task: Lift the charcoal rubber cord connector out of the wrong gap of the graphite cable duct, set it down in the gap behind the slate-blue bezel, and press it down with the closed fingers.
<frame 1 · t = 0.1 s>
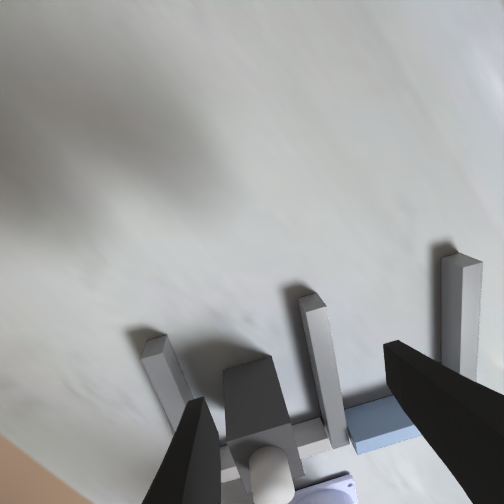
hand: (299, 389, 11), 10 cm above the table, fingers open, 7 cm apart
cord connector: (254, 386, 23), resting in cable duct
cable duct: (320, 367, 24), on the table
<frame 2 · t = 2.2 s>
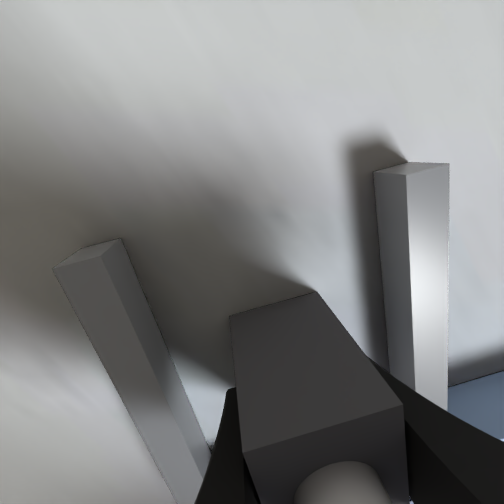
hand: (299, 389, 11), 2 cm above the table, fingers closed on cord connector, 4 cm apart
cord connector: (284, 349, 13), resting in cable duct, touching gripper
cable duct: (400, 316, 13), on the table
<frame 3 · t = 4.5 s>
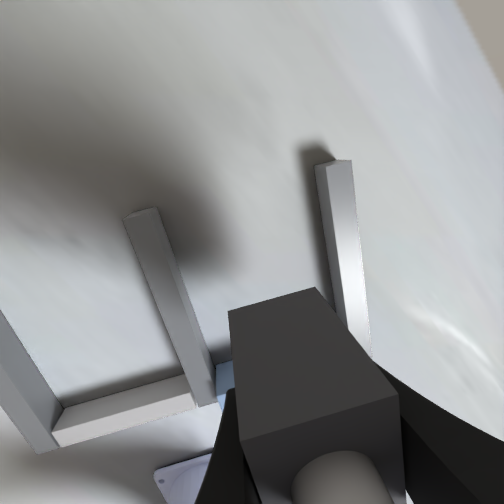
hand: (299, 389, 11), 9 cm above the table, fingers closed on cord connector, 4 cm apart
cord connector: (282, 344, 13), point 7 cm above the table, touching gripper
cable duct: (180, 307, 19), on the table
when the fingers open (3 cm above the table, at t = 6.7 s): cord connector stays where it is, resting in cable duct.
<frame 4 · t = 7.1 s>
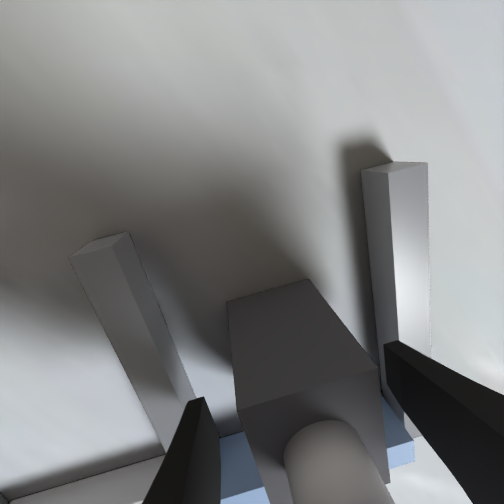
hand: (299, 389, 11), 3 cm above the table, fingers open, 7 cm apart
cord connector: (278, 332, 14), resting in cable duct
cable duct: (167, 368, 14), on the table
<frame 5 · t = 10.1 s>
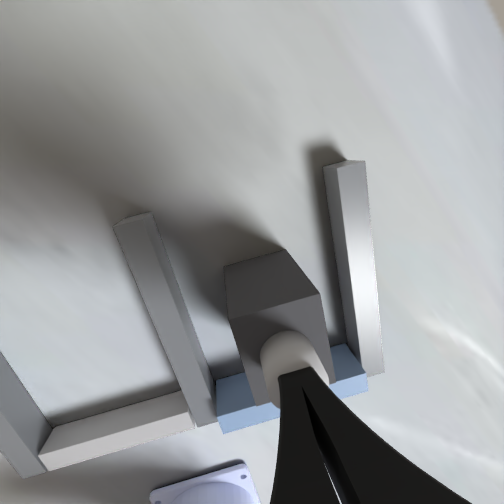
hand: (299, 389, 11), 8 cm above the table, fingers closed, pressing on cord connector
cord connector: (263, 292, 18), resting in cable duct, touching gripper
cable duct: (178, 319, 18), on the table
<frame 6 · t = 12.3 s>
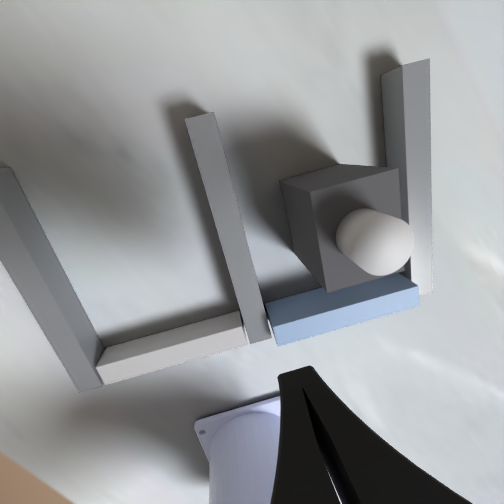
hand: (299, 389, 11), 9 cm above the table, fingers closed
cord connector: (316, 210, 19), resting in cable duct
cable duct: (232, 235, 18), on the table
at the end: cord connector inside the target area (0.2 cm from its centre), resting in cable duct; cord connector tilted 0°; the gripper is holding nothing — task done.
